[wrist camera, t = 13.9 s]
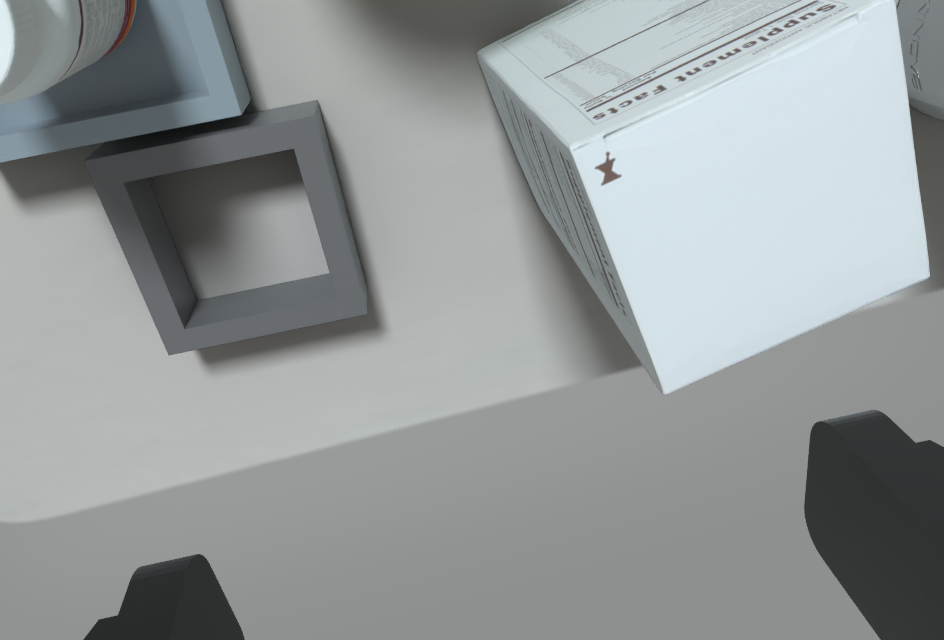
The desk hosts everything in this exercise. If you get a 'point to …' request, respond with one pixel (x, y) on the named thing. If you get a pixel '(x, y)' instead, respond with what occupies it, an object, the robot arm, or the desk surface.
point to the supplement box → (718, 165)
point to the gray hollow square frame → (155, 256)
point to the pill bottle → (55, 40)
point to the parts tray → (136, 84)
